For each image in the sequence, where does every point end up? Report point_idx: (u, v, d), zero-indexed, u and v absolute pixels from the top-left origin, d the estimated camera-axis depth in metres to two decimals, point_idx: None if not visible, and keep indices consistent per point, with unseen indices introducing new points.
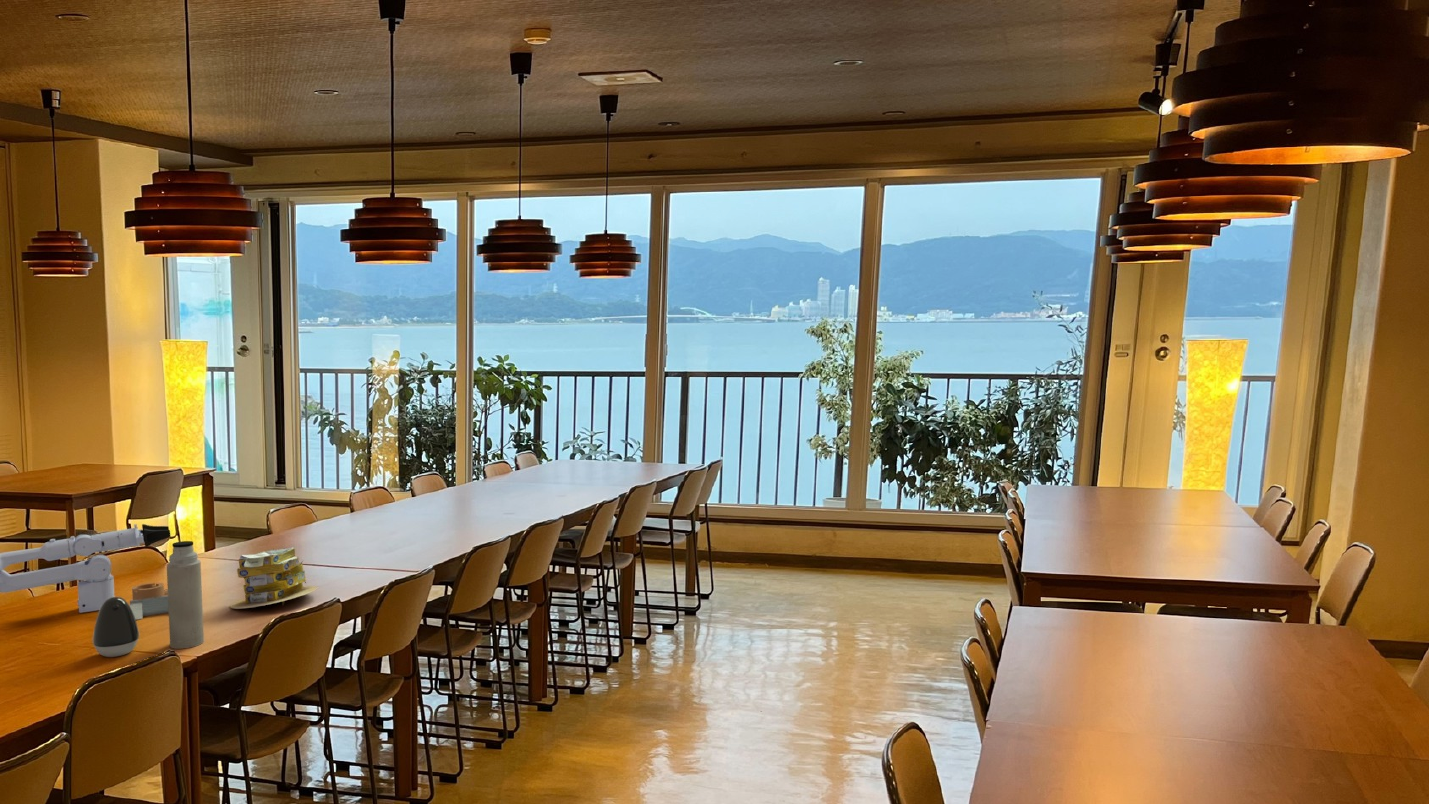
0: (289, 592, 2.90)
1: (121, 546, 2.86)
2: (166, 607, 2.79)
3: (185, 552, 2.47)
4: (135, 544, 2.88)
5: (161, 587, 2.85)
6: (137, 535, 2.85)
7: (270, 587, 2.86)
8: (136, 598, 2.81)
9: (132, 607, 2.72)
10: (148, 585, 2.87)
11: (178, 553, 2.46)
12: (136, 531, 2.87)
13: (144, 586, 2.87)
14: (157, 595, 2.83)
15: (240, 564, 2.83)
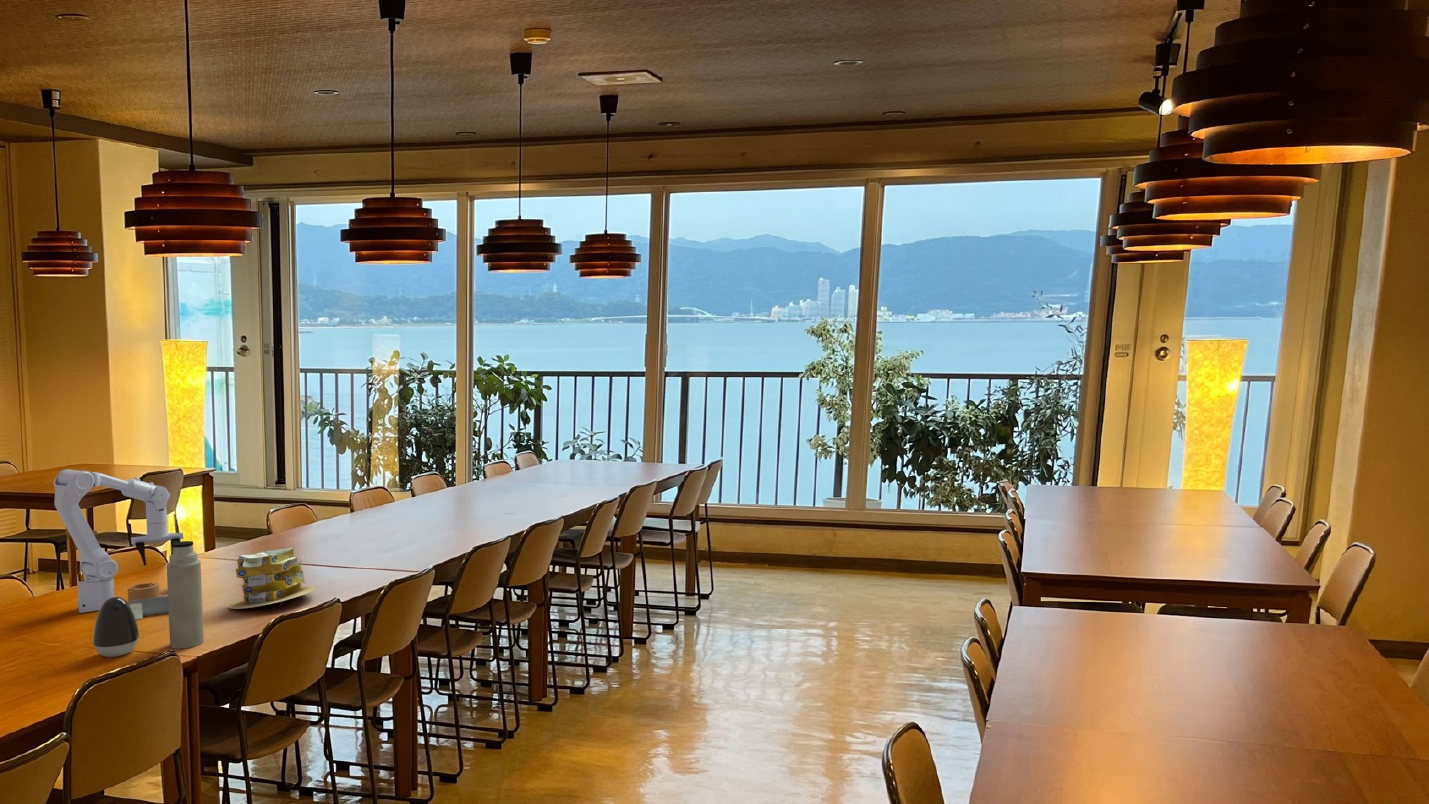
0: (288, 592, 2.90)
1: (164, 523, 3.00)
2: (166, 607, 2.79)
3: (185, 552, 2.47)
4: (164, 534, 3.00)
5: (155, 587, 2.85)
6: None
7: (268, 588, 2.86)
8: (130, 598, 2.81)
9: (132, 607, 2.72)
10: (145, 585, 2.88)
11: (178, 553, 2.46)
12: None
13: (141, 586, 2.87)
14: (151, 595, 2.83)
15: (239, 564, 2.83)
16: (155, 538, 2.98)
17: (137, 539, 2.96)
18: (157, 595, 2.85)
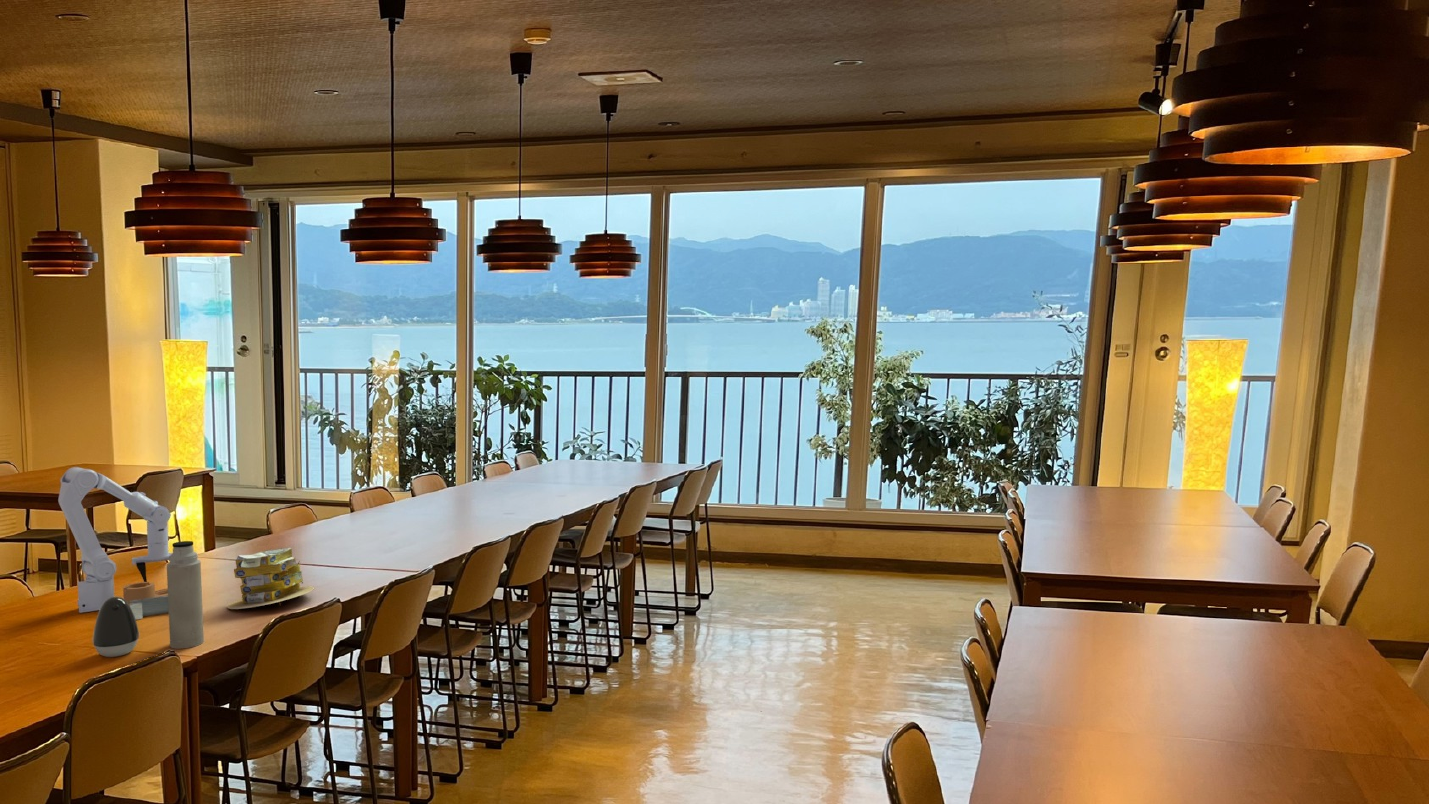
0: (286, 592, 2.90)
1: (165, 543, 2.98)
2: (166, 607, 2.79)
3: (185, 552, 2.47)
4: (165, 554, 2.98)
5: (149, 587, 2.85)
6: None
7: (267, 588, 2.86)
8: (125, 597, 2.82)
9: (132, 607, 2.72)
10: (142, 584, 2.89)
11: (178, 553, 2.46)
12: None
13: (138, 585, 2.88)
14: (144, 595, 2.83)
15: (237, 564, 2.83)
16: (156, 558, 2.96)
17: (138, 559, 2.94)
18: (151, 595, 2.86)
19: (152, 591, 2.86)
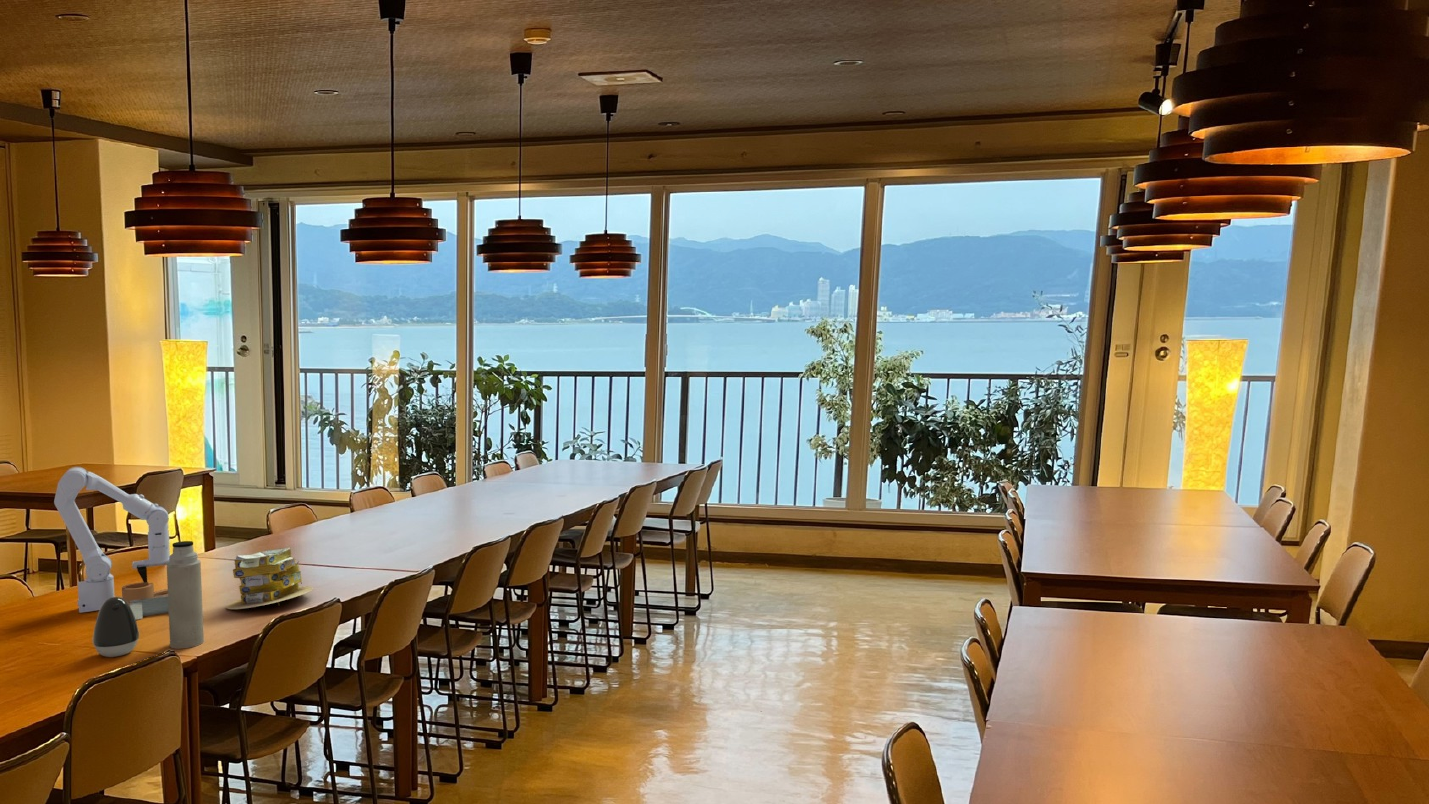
0: (285, 593, 2.90)
1: (166, 547, 2.92)
2: (166, 607, 2.79)
3: (185, 552, 2.47)
4: (167, 558, 2.92)
5: (148, 588, 2.84)
6: None
7: (266, 588, 2.85)
8: (123, 597, 2.82)
9: (132, 607, 2.72)
10: (141, 584, 2.88)
11: (178, 553, 2.46)
12: None
13: (137, 585, 2.87)
14: (142, 595, 2.82)
15: (236, 564, 2.82)
16: (157, 562, 2.90)
17: (139, 563, 2.89)
18: (150, 596, 2.85)
19: (150, 592, 2.85)
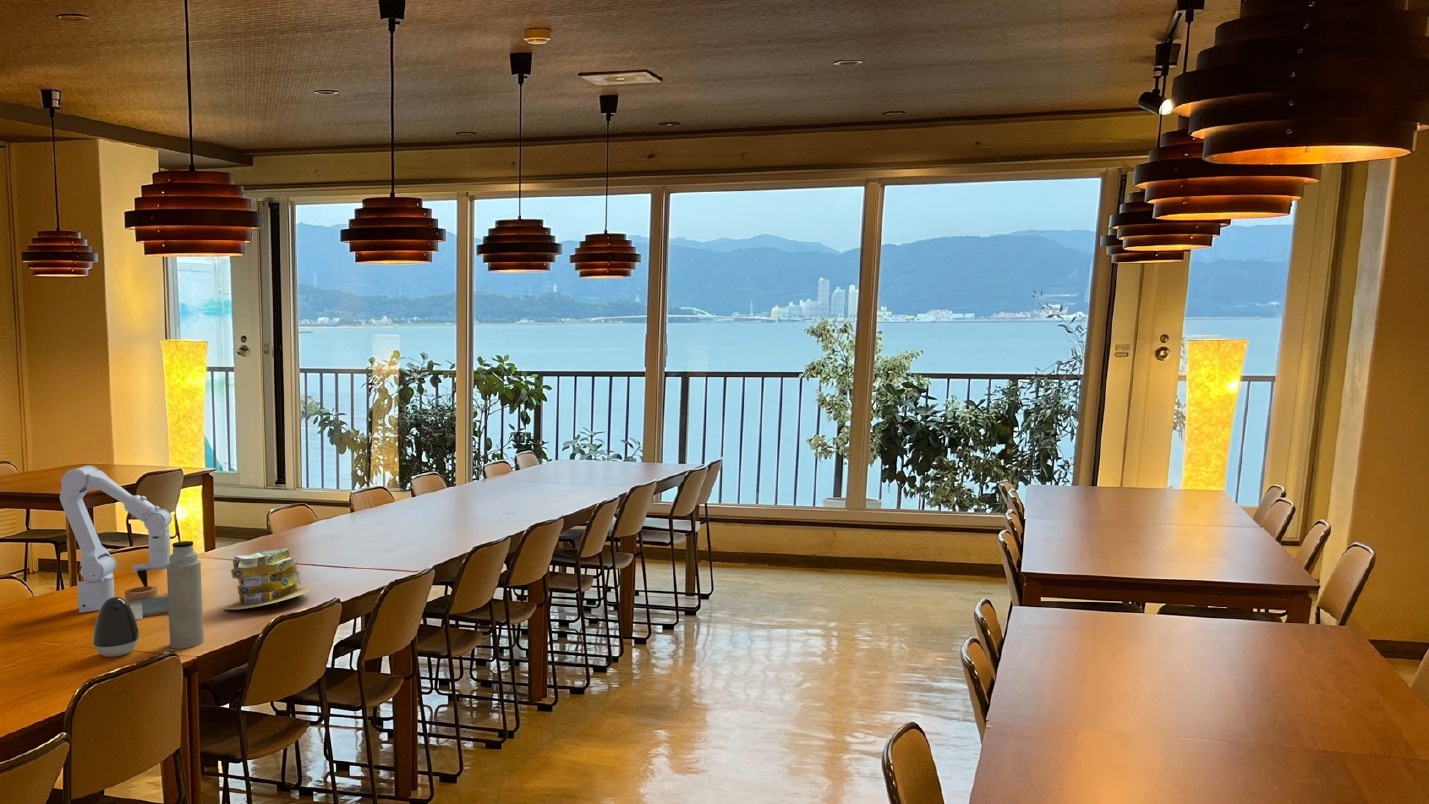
0: (283, 593, 2.89)
1: (167, 550, 2.87)
2: (166, 607, 2.79)
3: (185, 552, 2.47)
4: (167, 562, 2.87)
5: (151, 592, 2.79)
6: None
7: (264, 588, 2.85)
8: None
9: (132, 607, 2.72)
10: (144, 588, 2.83)
11: (178, 553, 2.46)
12: None
13: (140, 589, 2.83)
14: None
15: (235, 564, 2.82)
16: (158, 566, 2.85)
17: (139, 567, 2.84)
18: None
19: (154, 596, 2.80)
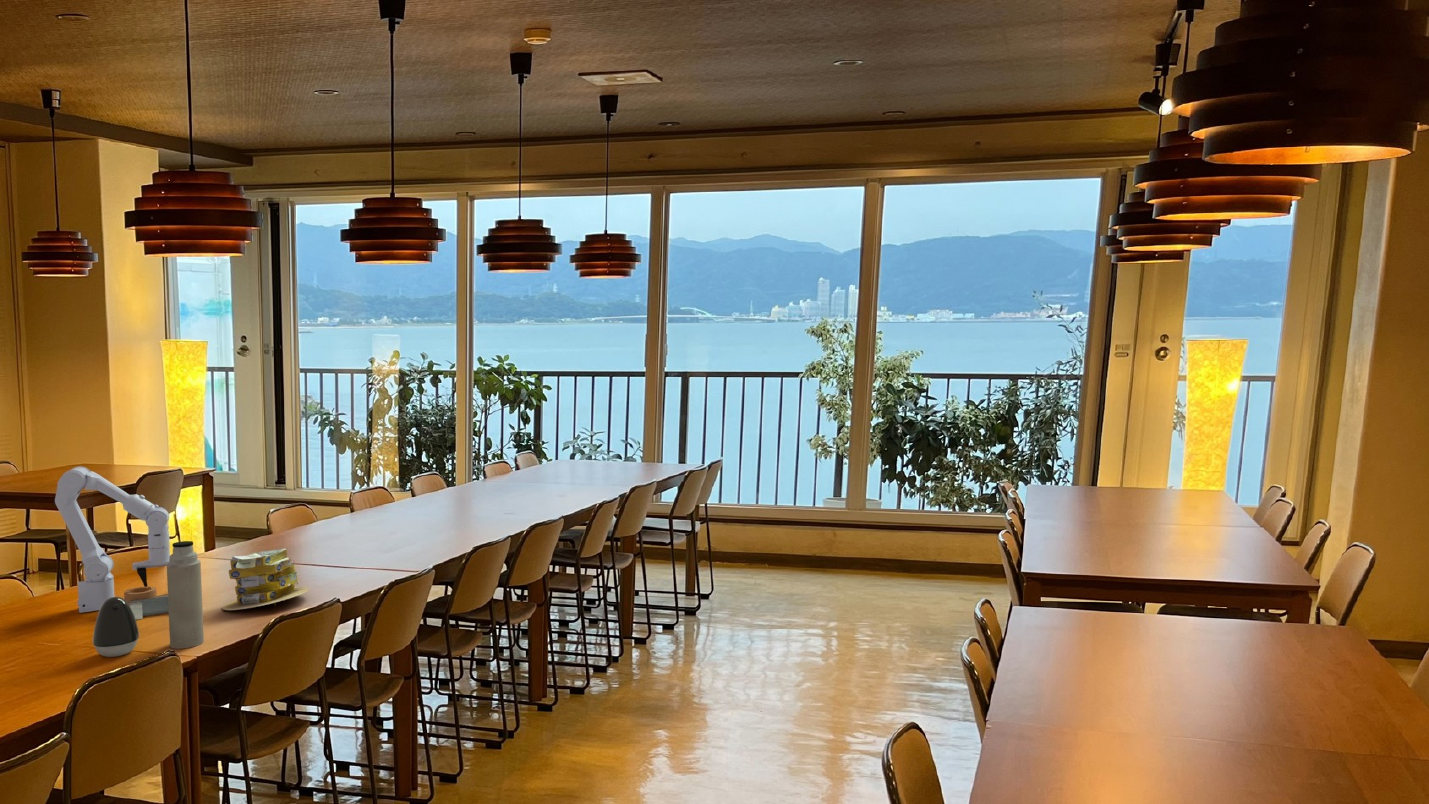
0: (281, 593, 2.89)
1: (166, 548, 2.90)
2: (166, 607, 2.79)
3: (185, 552, 2.47)
4: (167, 559, 2.90)
5: (151, 592, 2.79)
6: None
7: (262, 589, 2.85)
8: None
9: (132, 607, 2.72)
10: (143, 589, 2.83)
11: (178, 553, 2.46)
12: None
13: (139, 589, 2.83)
14: None
15: (232, 565, 2.82)
16: (157, 563, 2.88)
17: (139, 565, 2.87)
18: None
19: (153, 596, 2.80)
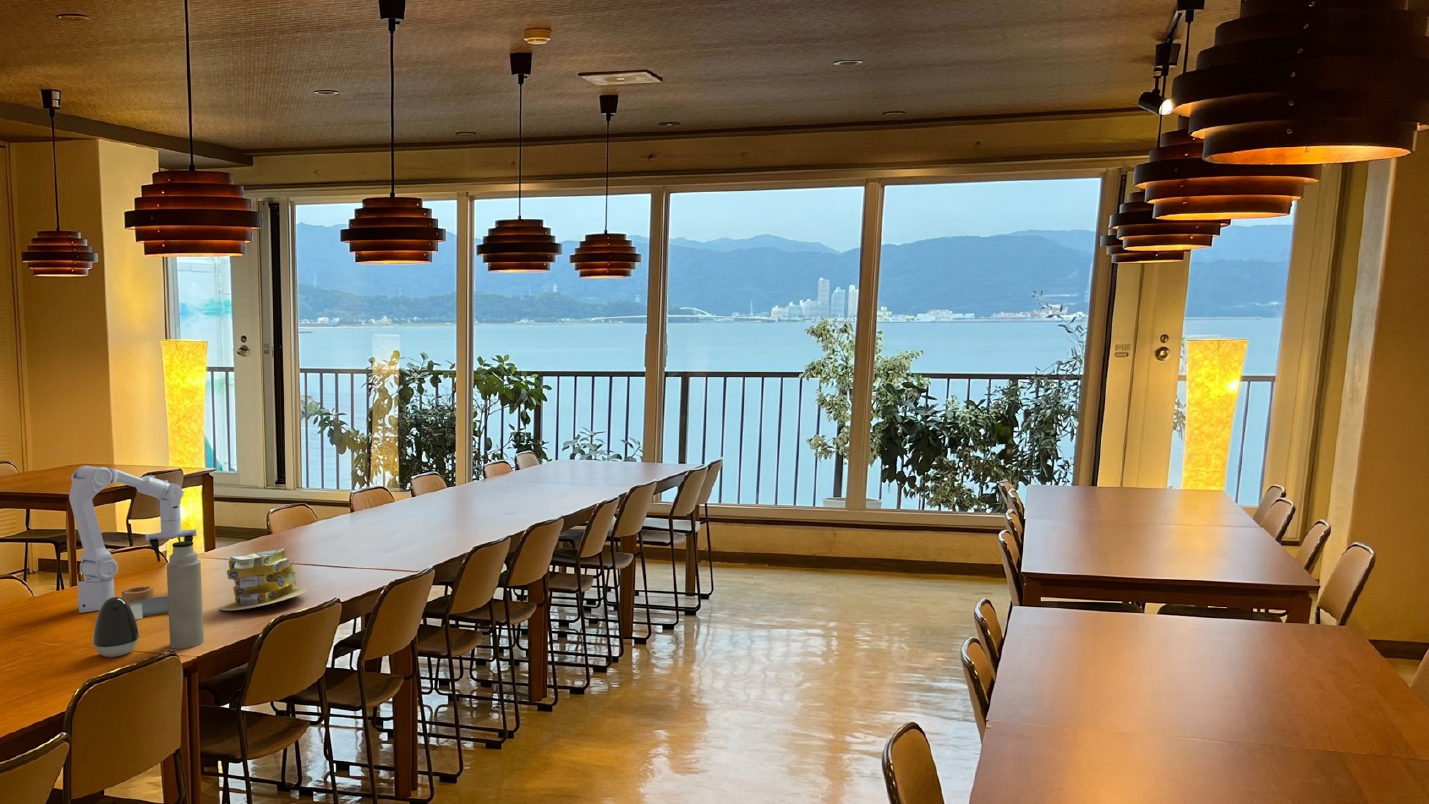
0: (279, 594, 2.89)
1: (178, 520, 3.04)
2: (166, 607, 2.79)
3: (185, 552, 2.47)
4: (178, 531, 3.04)
5: (147, 592, 2.79)
6: None
7: (260, 589, 2.84)
8: None
9: (132, 607, 2.72)
10: (142, 588, 2.84)
11: (178, 553, 2.46)
12: None
13: (138, 589, 2.83)
14: None
15: (230, 565, 2.81)
16: (169, 535, 3.02)
17: (151, 536, 3.01)
18: None
19: (150, 596, 2.80)
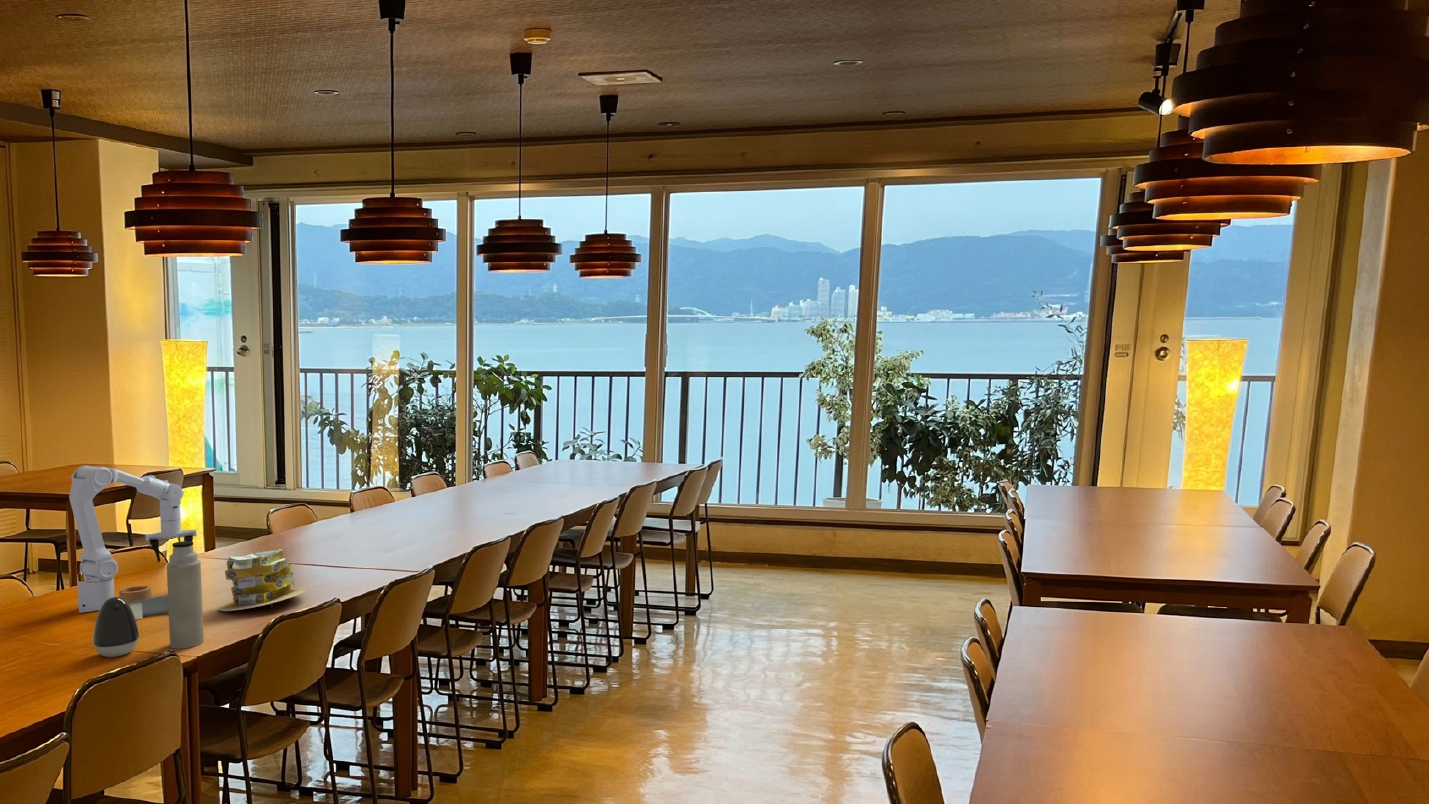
0: (278, 594, 2.88)
1: (178, 520, 3.04)
2: (166, 607, 2.79)
3: (185, 552, 2.47)
4: (178, 531, 3.04)
5: (143, 591, 2.80)
6: None
7: (258, 589, 2.84)
8: None
9: (132, 607, 2.72)
10: (141, 587, 2.85)
11: (178, 553, 2.46)
12: None
13: (137, 588, 2.84)
14: (137, 599, 2.79)
15: (229, 566, 2.81)
16: (169, 535, 3.02)
17: (151, 536, 3.01)
18: None
19: (146, 596, 2.81)
